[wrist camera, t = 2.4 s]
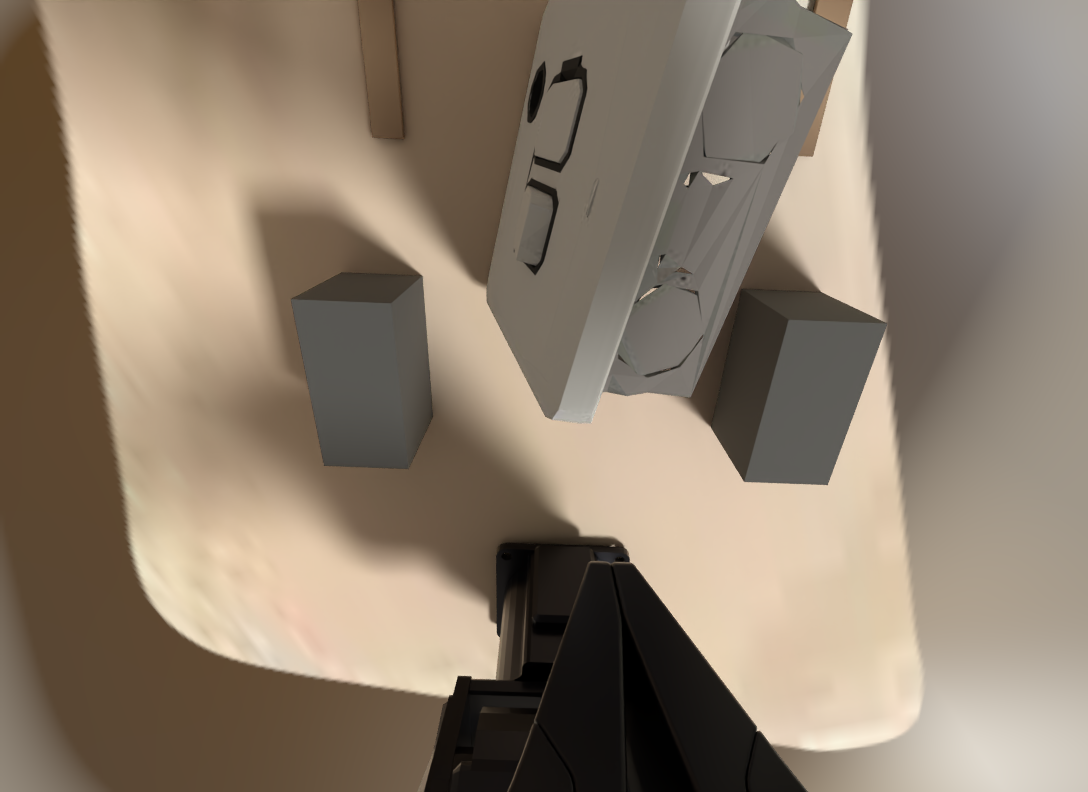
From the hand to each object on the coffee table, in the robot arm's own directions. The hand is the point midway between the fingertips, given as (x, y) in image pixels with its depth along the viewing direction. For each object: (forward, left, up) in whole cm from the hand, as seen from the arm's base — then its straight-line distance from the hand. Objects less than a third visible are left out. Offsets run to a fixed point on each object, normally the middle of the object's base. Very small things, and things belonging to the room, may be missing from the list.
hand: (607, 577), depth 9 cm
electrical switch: (+7, 0, -12) cm, 13 cm away
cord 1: (0, -8, -11) cm, 14 cm away
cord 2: (0, +7, -11) cm, 14 cm away
